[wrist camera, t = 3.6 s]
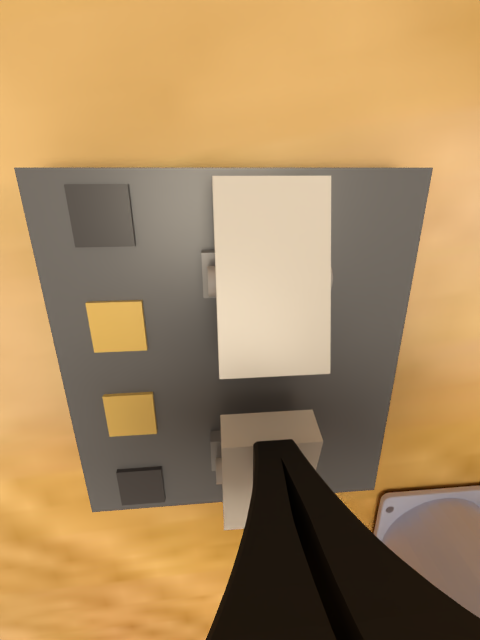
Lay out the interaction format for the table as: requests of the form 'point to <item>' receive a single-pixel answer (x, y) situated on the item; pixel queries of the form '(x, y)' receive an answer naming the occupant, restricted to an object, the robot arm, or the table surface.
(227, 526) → the rocker
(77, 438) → the switch unit
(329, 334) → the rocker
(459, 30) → the table surface
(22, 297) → the table surface
